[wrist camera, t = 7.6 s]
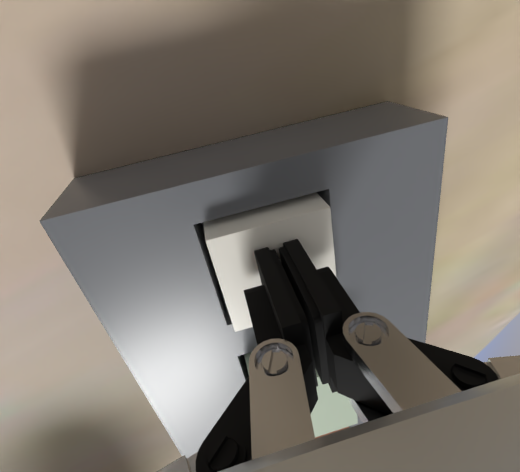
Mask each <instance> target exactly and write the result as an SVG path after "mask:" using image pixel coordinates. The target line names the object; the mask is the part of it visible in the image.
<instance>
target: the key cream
mask: <svg viewBox="0 0 520 472" xmlns="http://www.w3.org/2000/svg"><path fill="white" fill-rule="evenodd" d="M203 225H204V233H205V241H206V244H207V247H208V250H209V253H210V256H211V259H212V262H213V266H214V269H215V272H216V275H217V278H218V281H219V284H220V287H221V290H222V293H223V297H224V300H225V303H226V306H227V309H228V312H229V315H230V318H231V321H232V324H233V327H234V331H235V332H237V331H240V330H244V329H247V328H250V327H253V326H252V322H251V318H250V314H249V310H248V306H247V302H246V298H245V294H244V290H246V289H250V288H253V287H257V286H260V285H262V283H261V279H260V275H259V271H258V267H257V262H256V258H255V254H254V251H255V250H258V249H262V248H266V247H268V248H269V250H273V249H275V251H276V253H277V255H278V257H279V259H280V254H279V248H280V247H283V243H284V242H287V241H291V240H295V239H298V240H299V242H300V243H301V245H302V246H303V248H304V250H305V251H306V253H307V255H308V256H309V258H310V260H311V261H312V263H313V264H314V266H315V268H316V269H320V268H324V267H329V268H330V269H331V270H332V272H333V273H334V275H335V276H336V266H335V255H334V243H333V232H332V220H331V209H330V206H329V205H328V204H327V203H326V202H325V201H324V200H323V199H322V198H321V197H320V196H319V195H318V194H317V192H315V193H312V194H308V195H304V196H300V197H297V198H293V199H289V200H285V201H281V202H278V203H274V204H270V205H266V206H263V207H259V208H255V209H251V210H247V211H244V212H240V213H236V214H232V215H229V216H225V217H221V218H217V219H214V220H210V221H206V222H203ZM280 261H281V259H280Z"/></svg>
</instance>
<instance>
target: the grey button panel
mask: <svg viewBox="0 0 520 472" xmlns="http://www.w3.org/2000/svg"><path fill="white" fill-rule="evenodd" d="M447 124H448V117H446V116H442V115H438V114H434V113H430V112H427V111H423V110H419V109H415V108H411V107H407V106H404V105H400V104H396V103H392V102H388V101H387V102H383V103H379V104H375V105H370V106H366V107H362V108H358V109H354V110H350V111H346V112H342V113H338V114H334V115H330V116H326V117H322V118H318V119H314V120H310V121H306V122H301V123H297V124H293V125H289V126H285V127H281V128H277V129H273V130H269V131H265V132H261V133H257V134H253V135H249V136H245V137H241V138H237V139H232V140H228V141H224V142H220V143H216V144H212V145H208V146H204V147H200V148H196V149H192V150H188V151H184V152H180V153H176V154H172V155H167V156H163V157H159V158H155V159H151V160H147V161H143V162H139V163H135V164H131V165H127V166H123V167H119V168H115V169H111V170H107V171H103V172H98V173H94V174H90V175H86V176H82V177H78V178H74V179H73V180H72V182H71V183H70V184H69V185H68V186H67V188H66V189H65V190H64V191H63V193H62V194H61V195H60V196H59V198H58V199H57V200H56V201H55V203H54V204H53V205H52V206H51V208H50V209H49V210H48V211H47V212H46V214H45V215H44V216H43V217H42V219H41V220H40V223H41V224H42V226H43V228H44V229H45V231H46V233H47V234H48V236H49V238H50V239H51V241H52V243H53V244H54V246H55V248H56V249H57V251H58V252H59V254H60V256H61V257H62V259H63V261H64V262H65V264H66V266H67V267H68V269H69V271H70V272H71V274H72V276H73V277H74V279H75V280H76V282H77V284H78V285H79V287H80V289H81V290H82V292H83V294H84V295H85V297H86V299H87V300H88V302H89V304H90V305H91V307H92V308H93V310H94V312H95V313H96V315H97V317H98V318H99V320H100V322H101V323H102V325H103V327H104V328H105V330H106V331H107V333H108V335H109V336H110V338H111V340H112V341H113V343H114V345H115V346H116V348H117V350H118V351H119V353H120V355H121V356H122V358H123V359H124V361H125V363H126V364H127V366H128V368H129V369H130V371H131V373H132V374H133V376H134V378H135V379H136V381H137V383H138V384H139V386H140V387H141V389H142V391H143V392H144V394H145V396H146V397H147V399H148V401H149V402H150V404H151V406H152V407H153V409H154V411H155V412H156V414H157V415H158V417H159V419H160V420H161V422H162V424H163V425H164V427H165V429H166V430H167V432H168V434H169V435H170V437H171V439H172V440H173V442H174V443H175V445H176V447H177V448H178V450H179V452H180V453H181V455H182V456H184V455H185V456H186V458H188V457H190V456H192V455H193V454H195V453H197V452H198V450H199V448H200V446H201V444H202V443H203V441H204V440H205V438H206V437H207V435H208V434H209V433H210V431H211V430H212V428H213V427H214V425H215V424H216V423H217V421H218V420H219V418H220V417H221V415H222V414H223V413H224V411H225V410H226V408H227V407H228V405H229V404H230V403H231V401H232V400H233V398H234V397H235V396H236V394H237V393H238V391H239V390H240V388H241V387H242V386H243V384H244V383H245V381H246V380H247V378H248V377H249V375H248V370H247V365H246V360H245V355H244V354H247V353H250V352H252V351H253V350H254V348H255V347H256V346H257V341H256V337H255V333H254V329H253V327H250V328H247V329H244V330H240V331H237V332H235V331H234V327H233V324H232V321H231V318H230V315H229V312H228V309H227V306H226V303H225V300H224V297H223V293H222V290H221V287H220V284H219V281H218V278H217V275H216V272H215V269H214V266H213V262H212V259H211V256H210V253H209V250H208V247H207V244H206V241H205V233H204V225H203V222H206V221H210V220H214V219H217V218H221V217H225V216H229V215H232V214H236V213H240V212H244V211H247V210H251V209H255V208H259V207H263V206H266V205H270V204H274V203H278V202H281V201H285V200H289V199H293V198H297V197H300V196H304V195H308V194H312V193H315V192H317V194H318V195H319V196H320V197H321V198H322V199H323V200H324V201H325V202H326V203H327V204H328V205H329V206H330V209H331V220H332V232H333V243H334V255H335V266H336V278H337V279H338V281H339V282H340V284H341V285H342V287H343V288H344V290H345V291H346V293H347V294H348V296H349V297H350V299H351V300H352V302H353V303H354V304H355V306H356V307H357V309H358V310H359V312H371V313H377V314H379V315H382V316H384V317H385V318H386V319H388V320H389V321H390V322H391V323H392V324H393V325H394V326H395V327H396V328H397V329H398V330H399V331H400V332H401V333H403V334H404V335H405V336H406V337H407V338H409V339H413V340H416V341H419V342H423V343H425V340H426V330H427V320H428V310H429V301H430V291H431V281H432V271H433V261H434V251H435V242H436V232H437V222H438V212H439V202H440V193H441V183H442V173H443V163H444V153H445V143H446V134H447ZM357 419H358V424H354V425H351V426H349V428H350V427H353V426H356V425H359V424H362V423H363V422H362V421H361V419H360V418H359V416H358V415H357Z"/></svg>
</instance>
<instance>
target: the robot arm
mask: <svg viewBox="0 0 520 472" xmlns="http://www.w3.org/2000/svg"><path fill="white" fill-rule="evenodd" d="M254 254H255V258H256V262H257V267H258V271H259V275H260V279H261V283H262V285H260V286H257V287H253V288H250V289H246V290H244V294H245V298H246V302H247V306H248V310H249V314H250V318H251V322H252V326H253V329H254V333H255V337H256V341H257V346H256V347H255V348H254V350H253V351H252V353H251V355H250V358H249V377H248V378H247V380H246V381H245V383H244V384H243V386H242V387H241V388H240V390H239V391H238V393H237V394H236V396H235V397H234V398H233V400H232V401H231V403H230V404H229V405H228V407H227V408H226V410H225V411H224V413H223V414H222V415H221V417H220V418H219V420H218V421H217V423H216V424H215V425H214V427H213V428H212V430H211V431H210V433H209V434H208V435H207V437H206V438H205V440H204V441H203V443H202V444H201V446H200V448H199V450H198V452H197V453H195V454H193V455H192V456H190V457H188V458H186V456H185V455H184V456H182V457H181V458H179V459H177V460H175V461H174V462H172V463H170V464H169V465H167V466H165V467H163V468H162V469H160V470H158V471H157V472H520V356H509V357H496V358H489V359H488V362H481V361H480V360H477V359H475V358H472V357H469V356H466V355H463V354H459V353H456V352H453V351H449V350H446V349H443V348H439V347H436V346H433V345H429V344H426V343H423V342H419V341H416V340H413V339H409V338H407V337H406V336H405V335H404V334H403V333H401V332H400V331H399V330H398V329H397V328H396V327H395V326H394V325H393V324H392V323H391V322H390V321H389V320H388V319H386V318H385V317H384V316H382V315H379V314H377V313H371V312H359V310H358V309H357V307H356V306H355V304H354V303H353V302H352V300H351V299H350V297H349V296H348V294H347V293H346V291H345V290H344V288H343V287H342V285H341V284H340V282H339V281H338V279H337V278H336V276H335V275H334V273H333V272H332V270H331V269H330V268H329V267H324V268H320V269H316V268H315V266H314V264H313V263H312V261H311V260H310V258H309V256H308V255H307V253H306V251H305V250H304V248H303V246H302V245H301V243H300V242H299V240H298V239H295V240H291V241H287V242H284V243H283V247H280V248H279V254H280V259H281V261H280V259H279V257H278V255H277V253H276V251H275V249H273V250H269V248H268V247H266V248H262V249H258V250H255V251H254ZM315 368H316V369H315ZM316 371H317V373H318V375H319V378H320V380H321V382H322V384H327V383H328V384H329V386H330V389H331V391H332V393H334V392H338V393H339V394H341V395H344V396H346V397H348V398H349V401H350V404H351V406H352V407H353V409H354V410H355V412H356V413H357V415H358V416H359V418H360V419H361V421H362V422H363V423H362V424H359V425H356V426H353V427H350V428H347V429H344V430H341V431H338V432H335V433H332V434H329V435H326V436H323V437H320V438H317V439H315V435H314V430H313V425H312V420H311V413H312V411H313V409H314V407H315V405H316V403H317V401H318V395H317V388H316V387H317V386H318V381H317V375H316Z"/></svg>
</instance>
